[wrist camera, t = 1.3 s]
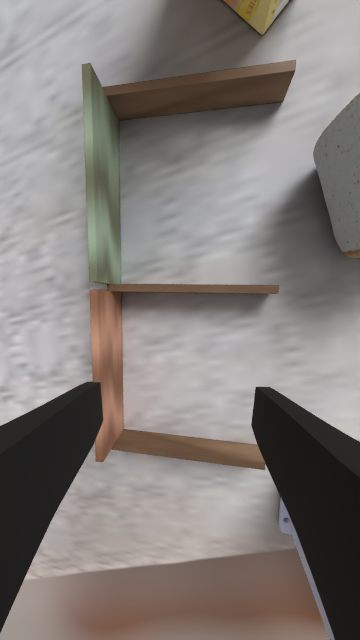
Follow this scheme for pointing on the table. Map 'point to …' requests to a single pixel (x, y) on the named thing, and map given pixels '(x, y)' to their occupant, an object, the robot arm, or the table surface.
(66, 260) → the table surface
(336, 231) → the ceramic mug
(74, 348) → the table surface
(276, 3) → the candy box
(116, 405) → the wooden letter e
